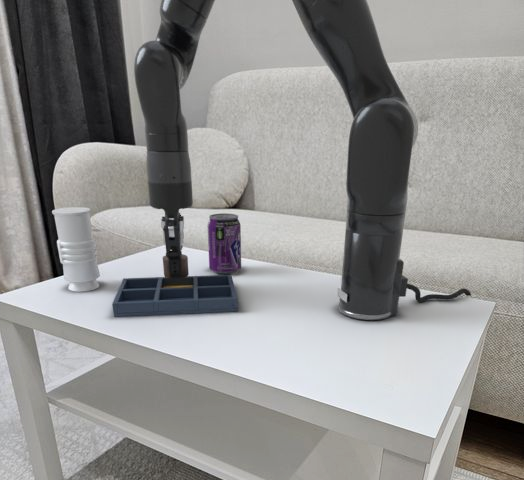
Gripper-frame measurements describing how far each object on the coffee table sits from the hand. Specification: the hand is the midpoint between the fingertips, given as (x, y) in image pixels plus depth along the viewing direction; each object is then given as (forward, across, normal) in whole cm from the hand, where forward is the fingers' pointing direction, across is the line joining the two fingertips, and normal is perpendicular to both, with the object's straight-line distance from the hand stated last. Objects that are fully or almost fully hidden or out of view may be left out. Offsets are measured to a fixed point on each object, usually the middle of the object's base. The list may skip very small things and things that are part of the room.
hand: (176, 273), depth 90 cm
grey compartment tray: (+4, -4, 0) cm, 5 cm away
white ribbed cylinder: (+4, +7, +19) cm, 21 cm away
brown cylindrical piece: (0, 0, 0) cm, 0 cm away
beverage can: (+4, +15, -10) cm, 18 cm away
